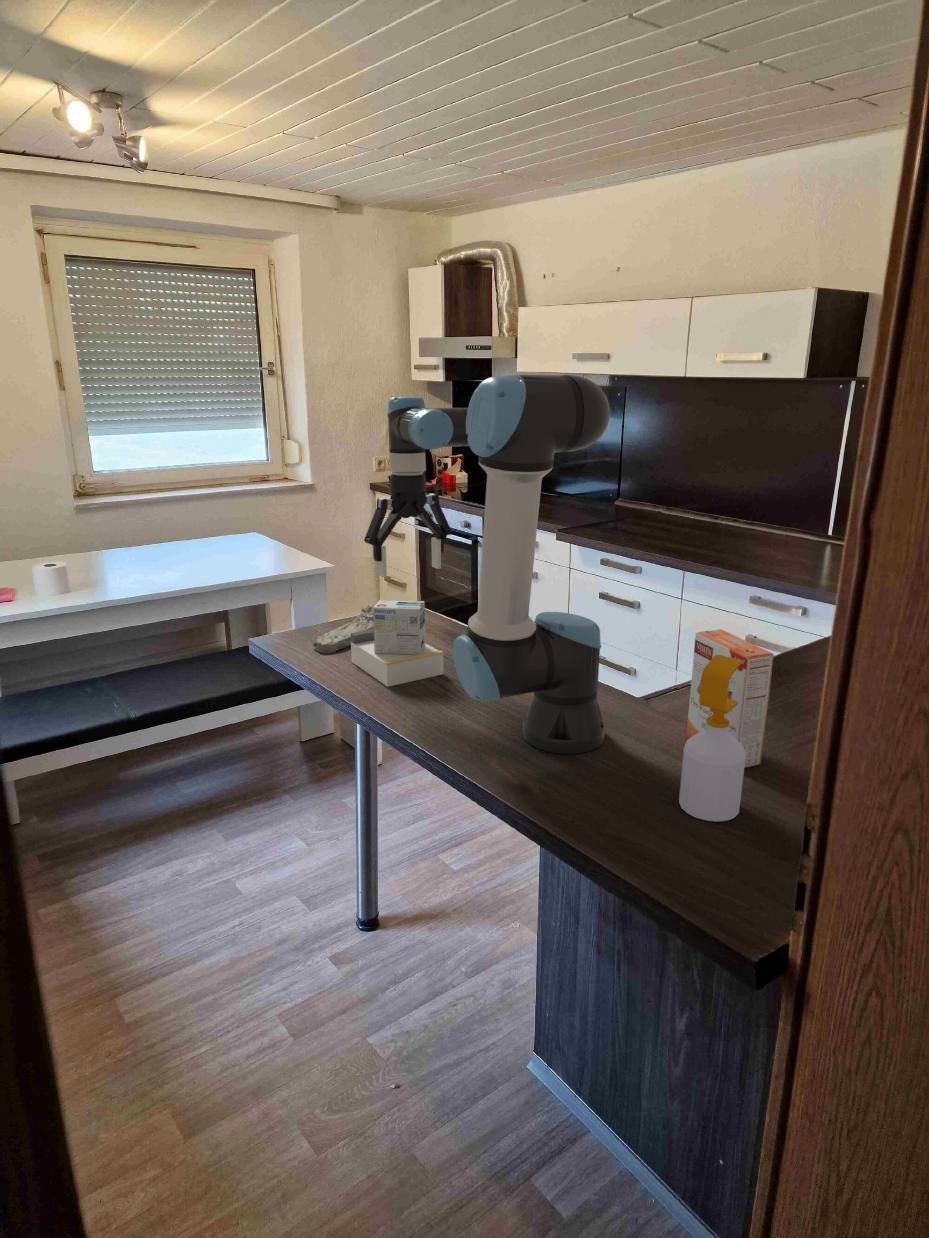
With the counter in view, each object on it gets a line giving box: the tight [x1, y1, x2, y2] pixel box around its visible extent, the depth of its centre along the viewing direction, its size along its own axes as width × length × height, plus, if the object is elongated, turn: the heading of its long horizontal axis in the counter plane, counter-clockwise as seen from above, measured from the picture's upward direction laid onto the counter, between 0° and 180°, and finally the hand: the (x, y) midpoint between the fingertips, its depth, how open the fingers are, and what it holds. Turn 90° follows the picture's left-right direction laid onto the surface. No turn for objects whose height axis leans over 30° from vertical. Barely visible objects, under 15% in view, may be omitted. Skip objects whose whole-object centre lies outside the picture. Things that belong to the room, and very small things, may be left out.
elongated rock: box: [312, 604, 375, 654], centre depth 208 cm, size 35×5×10 cm
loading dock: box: [350, 629, 444, 688], centre depth 183 cm, size 18×14×7 cm
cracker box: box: [686, 628, 775, 769], centre depth 141 cm, size 14×6×21 cm, turn 21°
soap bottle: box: [678, 655, 746, 823], centre depth 122 cm, size 9×9×25 cm
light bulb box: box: [373, 599, 426, 655], centre depth 179 cm, size 11×7×11 cm, turn 84°
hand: (409, 571), depth 175 cm, fingers open, 13 cm apart
